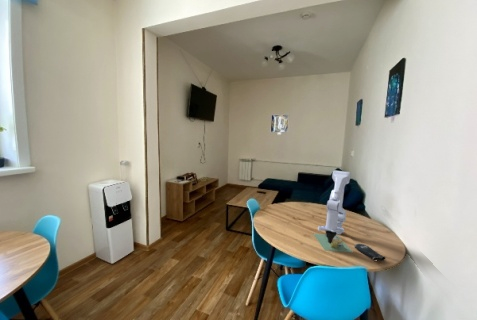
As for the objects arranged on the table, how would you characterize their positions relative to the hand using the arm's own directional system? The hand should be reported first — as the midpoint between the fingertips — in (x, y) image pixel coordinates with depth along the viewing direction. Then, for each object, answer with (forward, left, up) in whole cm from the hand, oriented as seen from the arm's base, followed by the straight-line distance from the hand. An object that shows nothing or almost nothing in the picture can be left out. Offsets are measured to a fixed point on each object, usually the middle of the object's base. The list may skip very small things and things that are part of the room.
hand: (329, 242), depth 117 cm
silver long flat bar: (-6, +6, 0) cm, 8 cm away
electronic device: (+3, +20, -4) cm, 21 cm away
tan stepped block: (0, +4, -2) cm, 5 cm away
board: (-5, +4, -3) cm, 7 cm away
